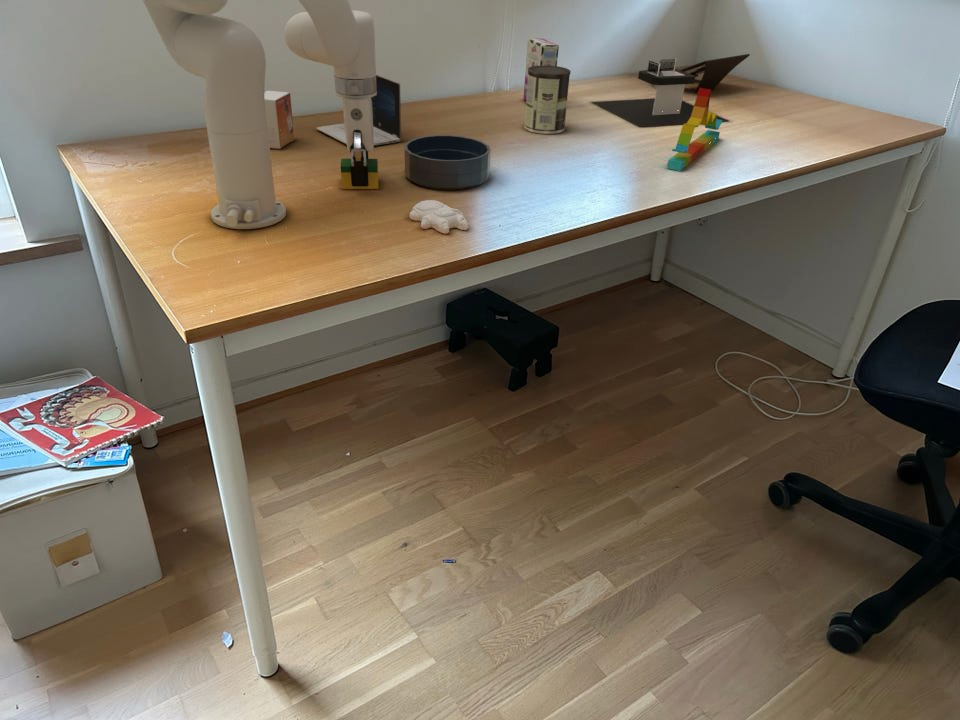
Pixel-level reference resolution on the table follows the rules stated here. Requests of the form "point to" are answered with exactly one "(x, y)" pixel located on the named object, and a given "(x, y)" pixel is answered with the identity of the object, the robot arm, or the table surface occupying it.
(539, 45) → the candy bar box
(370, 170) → the sponge
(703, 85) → the laptop tray
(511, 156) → the table surface
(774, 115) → the table surface
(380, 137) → the laptop
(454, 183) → the bowl
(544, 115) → the coffee can
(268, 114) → the small box
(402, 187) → the table surface
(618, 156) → the table surface
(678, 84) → the black-topped pedestal
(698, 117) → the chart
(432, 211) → the white flat figure
